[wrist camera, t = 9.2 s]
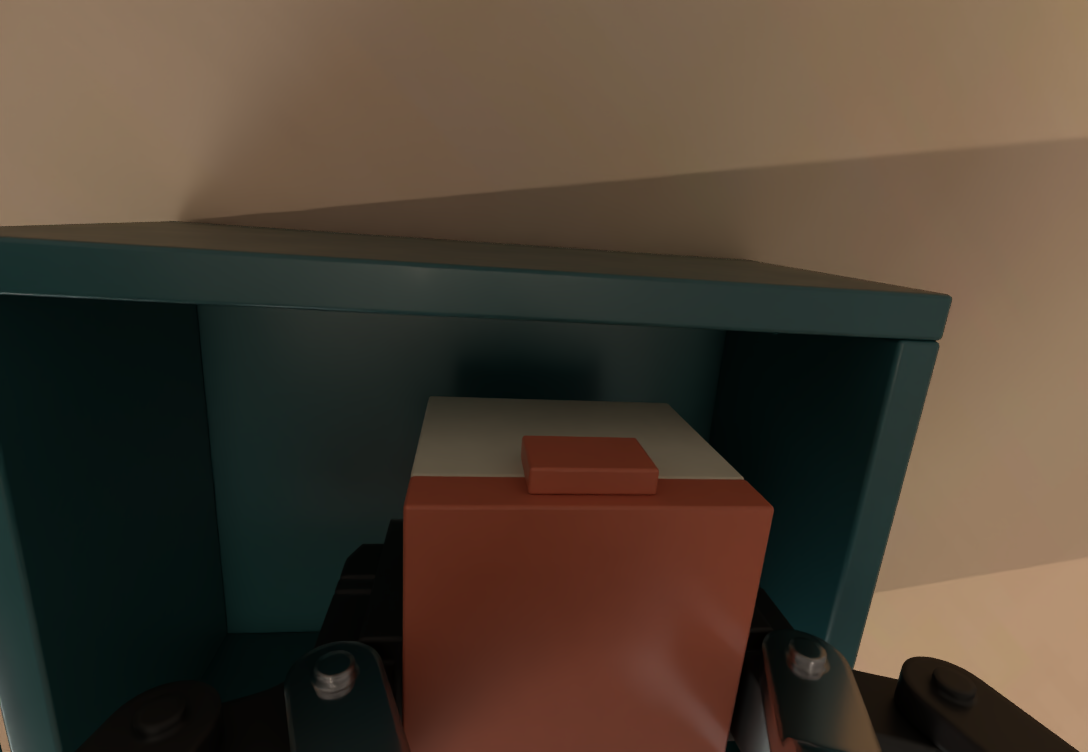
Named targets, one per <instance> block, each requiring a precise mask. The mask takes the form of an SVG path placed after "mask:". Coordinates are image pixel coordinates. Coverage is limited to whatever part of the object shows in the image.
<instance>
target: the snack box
mask: <svg viewBox="0 0 1088 752" xmlns="http://www.w3.org/2000/svg"><path fill="white" fill-rule="evenodd" d="M773 513H774V508H773V506H772V505H771V504H770V503H769V502H768V501H767V500H766V499H765V498H764V497H763V496H762V495H761V494H760V493H758V492H757V491H756V490H755V489H754V488H753V487H752V486H751V485H750V484H749V483H748V482H747V481H746V480H744V478H743V477H742V476H741V475H740V474H739V473H738V472H737V471H736V470H735V469H734V468H733V467H732V466H731V465H730V464H729V463H728V462H727V461H726V460H725V459H724V458H723V457H722V456H721V455H720V454H719V453H718V452H717V451H716V450H715V449H714V448H713V447H712V446H710V445H709V444H708V443H707V442H706V441H705V440H704V439H703V438H702V437H701V436H700V435H699V434H698V433H697V432H696V431H695V430H694V429H693V428H692V427H691V426H690V425H689V424H688V423H687V422H686V421H685V420H684V419H683V418H682V417H681V416H680V415H679V414H678V413H677V412H676V411H675V410H674V409H673V408H672V407H671V406H670V405H668V404H667V403H642V402H609V401H575V400H541V399H508V398H474V397H441V396H431V397H429V400H428V404H427V408H426V413H425V417H424V421H423V425H422V430H421V434H420V438H419V442H418V447H417V451H416V455H415V459H414V464H413V468H412V472H411V478H410V481H409V485H408V489H407V494H406V498H405V502H404V506H403V653H402V725H403V728H404V731H405V734H406V737H407V741H408V744H409V747H410V750H411V752H726V747H727V742H728V737H729V732H730V727H731V722H732V717H733V712H734V707H735V702H736V697H737V692H738V687H739V682H740V677H741V672H742V667H743V662H744V657H745V652H746V647H747V642H748V637H749V632H750V627H751V622H752V617H753V612H754V607H755V602H756V597H757V592H758V587H759V582H760V577H761V572H762V567H763V562H764V557H765V552H766V547H767V542H768V537H769V532H770V527H771V522H772V518H773Z"/></svg>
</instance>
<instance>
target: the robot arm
mask: <svg viewBox="0 0 1088 752" xmlns="http://www.w3.org/2000/svg"><path fill="white" fill-rule="evenodd" d="M402 653H403V519H391V520H390V523H389V527H388V530H387V534H386V538H385V542H384V544H362V545H361V546H360V547H358V548H357V549H356V550H355V551H354V552H353V553H352V554H351V555H350V556H349V557H348V558H347V559H346V562H345V564H344V567H343V570H342V573H341V575H340V580H339V581H338V584H337V586H336V589H335V594H334V595H333V597H332V600H331V603H330V606H329V608H328V611H327V614H326V616H325V619H324V622H323V625H322V627H321V630H320V633H319V636H318V638H317V641H316V644H315V647H314V649H312V650H310V651H309V652H307V653H305V654H304V655H303V656H301V657H300V658H299V659H298V660H297V661H296V662H295V663H294V664H293V665H292V667H291V668H290V669H289V671H288V673H287V675H286V678H285V681H284V682H282V683H280V684H278V685H277V686H274V687H272V688H270V689H267V690H265V691H262V692H259V693H255V694H252V695H248V696H245V697H241V698H238V699H234V700H231V701H227V702H223V703H221V699H220V695H219V693H218V692H217V690H216V689H215V688H214V687H212V686H211V685H209V684H207V683H205V682H200V681H193V680H184V681H175V682H170V683H166V684H163V685H159V686H157V687H154V688H151V689H149V690H147V691H145V692H143V693H141V694H139V695H137V696H136V697H134V698H132V699H131V700H129V701H128V702H126V703H125V704H124V705H122V706H121V707H120V708H119V709H117V710H116V711H115V712H114V713H113V714H112V715H111V716H110V717H109V718H108V719H107V720H106V721H105V722H104V723H103V724H102V725H101V726H100V727H99V728H98V729H97V730H96V731H95V732H94V733H93V734H92V735H91V736H90V737H89V738H88V739H87V740H86V741H85V742H84V743H83V744H82V745H81V746H80V747H79V748H78V749H77V750H76V751H75V752H411V750H410V747H409V744H408V741H407V737H406V734H405V731H404V728H403V725H402ZM728 741H735V742H736V744H737V746H738V748H739V750H740V752H1079V751H1078V750H1076V749H1075V748H1074V747H1072V746H1071V745H1069V744H1068V743H1067V742H1065V741H1064V740H1063V739H1061V738H1060V737H1059V736H1057V735H1056V734H1054V733H1053V732H1052V731H1050V730H1049V729H1048V728H1046V727H1045V726H1044V725H1042V724H1041V723H1039V722H1038V721H1037V720H1035V719H1034V718H1033V717H1031V716H1030V715H1029V714H1027V713H1026V712H1024V711H1023V710H1022V709H1020V708H1019V707H1018V706H1016V705H1015V704H1013V703H1012V702H1011V701H1009V700H1008V699H1007V698H1005V697H1004V696H1003V695H1001V694H1000V693H998V692H997V691H996V690H994V689H993V688H992V687H990V686H989V685H988V684H986V683H985V682H983V681H982V680H981V679H979V678H978V677H976V676H975V675H973V674H972V673H970V672H968V671H966V670H965V669H963V668H961V667H958V666H956V665H954V664H952V663H949V662H946V661H943V660H940V659H936V658H931V657H913V658H910V659H907V660H906V661H905V662H904V664H903V665H902V669H901V672H900V675H899V679H893V678H888V677H884V676H879V675H874V674H870V673H865V672H860V671H856V670H852V669H851V667H850V665H849V663H848V661H847V660H846V659H845V657H844V656H843V655H842V654H841V653H840V652H839V651H838V650H837V649H836V648H835V647H833V646H832V645H830V644H829V643H828V642H826V641H824V640H822V639H821V638H819V637H817V636H814V635H812V634H809V633H807V632H803V631H799V630H794V628H793V627H792V626H791V624H790V623H789V622H788V620H787V619H786V618H785V617H784V615H783V614H782V613H781V611H780V610H779V609H778V608H777V606H776V605H775V604H774V602H773V601H772V600H771V598H770V597H769V596H768V595H767V593H766V592H765V591H764V589H763V588H760V584H759V587H758V592H757V597H756V602H755V607H754V612H753V617H752V622H751V627H750V632H749V637H748V642H747V647H746V652H745V657H744V662H743V667H742V672H741V677H740V682H739V687H738V692H737V697H736V702H735V707H734V712H733V717H732V722H731V727H730V732H729V737H728Z"/></svg>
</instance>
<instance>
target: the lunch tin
mask: <svg viewBox="0 0 1088 752" xmlns="http://www.w3.org/2000/svg"><path fill="white" fill-rule="evenodd" d="M951 302H952V297H951V296H949V295H948V294H942V293H937V292H931V291H925V290H919V289H913V288H908V287H902V286H896V285H890V284H885V283H879V282H873V281H867V280H861V279H856V278H850V277H844V276H838V275H833V274H827V273H821V272H815V271H809V270H804V269H798V268H792V267H786V266H781V265H775V264H769V263H763V262H757V261H751V260H740V259H725V258H710V257H696V256H681V255H666V254H651V253H636V252H621V251H607V250H592V249H577V248H562V247H547V246H532V245H518V244H503V243H488V242H473V241H458V240H443V239H429V238H414V237H399V236H384V235H369V234H354V233H339V232H325V231H310V230H295V229H280V228H265V227H250V226H236V225H221V224H206V223H191V222H176V221H166V222H131V223H98V224H65V225H32V226H0V707H1V712H2V716H3V720H4V725H5V729H6V733H7V737H8V742H9V746H10V750H11V752H75V751H76V750H77V749H78V748H79V747H80V746H81V745H82V744H83V743H84V742H85V741H86V740H87V739H88V738H89V737H90V736H91V735H92V734H93V733H94V732H95V731H96V730H97V729H98V728H99V727H100V726H101V725H102V724H103V723H104V722H105V721H106V720H107V719H108V718H109V717H110V716H111V715H112V714H113V713H114V712H115V711H116V710H117V709H119V708H120V707H121V706H122V705H124V704H125V703H126V702H128V701H129V700H131V699H132V698H134V697H136V696H137V695H139V694H141V693H143V692H145V691H147V690H149V689H151V688H154V687H157V686H159V685H163V684H166V683H170V682H175V681H184V680H193V681H200V682H205V683H207V684H209V685H211V686H212V687H214V688H215V689H216V690H217V692H218V693H219V695H220V699H221V703H223V702H227V701H231V700H234V699H238V698H241V697H245V696H248V695H252V694H255V693H259V692H262V691H265V690H267V689H270V688H272V687H274V686H277V685H278V684H280V683H282V682H284V681H285V678H286V675H287V673H288V671H289V669H290V668H291V667H292V665H293V664H294V663H295V662H296V661H297V660H298V659H299V658H300V657H301V656H303V655H304V654H305V653H307V652H309V651H310V650H312V649H314V647H315V644H316V641H317V638H318V636H319V633H320V630H321V627H322V625H323V622H324V619H325V616H326V614H327V611H328V608H329V606H330V603H331V600H332V597H333V595H334V594H335V589H336V586H337V584H338V581H339V580H340V575H341V573H342V570H343V567H344V564H345V562H346V559H347V558H348V557H349V556H350V555H351V554H352V553H353V552H354V551H355V550H356V549H357V548H358V547H360V546H361V545H362V544H384V542H385V538H386V534H387V530H388V527H389V523H390V520H391V519H403V506H404V502H405V498H406V494H407V489H408V485H409V481H410V478H411V472H412V468H413V464H414V459H415V455H416V451H417V447H418V442H419V438H420V434H421V430H422V425H423V421H424V417H425V413H426V408H427V404H428V400H429V397H431V396H441V397H474V398H508V399H541V400H575V401H609V402H642V403H667V404H668V405H670V406H671V407H672V408H673V409H674V410H675V411H676V412H677V413H678V414H679V415H680V416H681V417H682V418H683V419H684V420H685V421H686V422H687V423H688V424H689V425H690V426H691V427H692V428H693V429H694V430H695V431H696V432H697V433H698V434H699V435H700V436H701V437H702V438H703V439H704V440H705V441H706V442H707V443H708V444H709V445H710V446H712V447H713V448H714V449H715V450H716V451H717V452H718V453H719V454H720V455H721V456H722V457H723V458H724V459H725V460H726V461H727V462H728V463H729V464H730V465H731V466H732V467H733V468H734V469H735V470H736V471H737V472H738V473H739V474H740V475H741V476H742V477H743V478H744V480H746V481H747V482H748V483H749V484H750V485H751V486H752V487H753V488H754V489H755V490H756V491H757V492H758V493H760V494H761V495H762V496H763V497H764V498H765V499H766V500H767V501H768V502H769V503H770V504H771V505H772V506H773V508H774V513H773V518H772V522H771V527H770V532H769V537H768V542H767V547H766V552H765V557H764V562H763V567H762V572H761V577H760V582H759V584H760V588H763V589H764V591H765V592H766V593H767V595H768V596H769V597H770V598H771V600H772V601H773V602H774V604H775V605H776V606H777V608H778V609H779V610H780V611H781V613H782V614H783V615H784V617H785V618H786V619H787V620H788V622H789V623H790V624H791V626H792V627H793V628H794V630H799V631H803V632H807V633H809V634H812V635H814V636H817V637H819V638H821V639H822V640H824V641H826V642H828V643H829V644H830V645H832V646H833V647H835V648H836V649H837V650H838V651H839V652H840V653H841V654H842V655H843V656H844V657H845V659H846V660H847V661H848V663H849V665H850V667H851V669H852V670H853V668H854V665H855V661H856V657H857V653H858V650H859V646H860V642H861V638H862V635H863V631H864V627H865V623H866V620H867V616H868V612H869V608H870V605H871V601H872V597H873V593H874V590H875V586H876V582H877V578H878V575H879V571H880V567H881V563H882V560H883V556H884V552H885V548H886V545H887V541H888V537H889V533H890V530H891V526H892V522H893V518H894V515H895V511H896V507H897V503H898V500H899V496H900V492H901V489H902V485H903V481H904V477H905V474H906V470H907V466H908V462H909V459H910V455H911V451H912V447H913V444H914V440H915V436H916V432H917V429H918V425H919V421H920V417H921V414H922V410H923V406H924V402H925V399H926V395H927V391H928V387H929V384H930V380H931V376H932V372H933V369H934V365H935V361H936V357H937V354H938V350H939V343H938V342H936V340H940V339H941V338H942V336H943V332H944V328H945V324H946V321H947V317H948V313H949V309H950V306H951ZM726 752H740V750H739V748H738V746H737V744H736V742H735V741H728V742H727V747H726Z"/></svg>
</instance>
